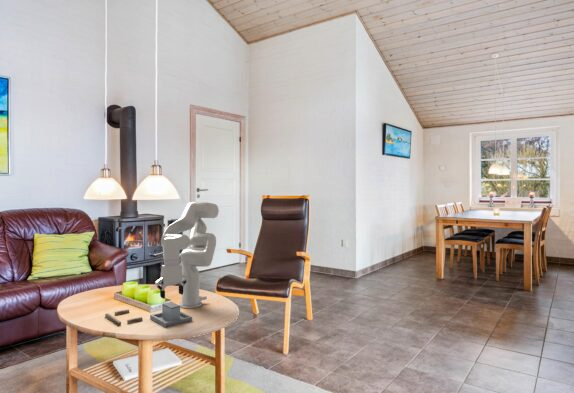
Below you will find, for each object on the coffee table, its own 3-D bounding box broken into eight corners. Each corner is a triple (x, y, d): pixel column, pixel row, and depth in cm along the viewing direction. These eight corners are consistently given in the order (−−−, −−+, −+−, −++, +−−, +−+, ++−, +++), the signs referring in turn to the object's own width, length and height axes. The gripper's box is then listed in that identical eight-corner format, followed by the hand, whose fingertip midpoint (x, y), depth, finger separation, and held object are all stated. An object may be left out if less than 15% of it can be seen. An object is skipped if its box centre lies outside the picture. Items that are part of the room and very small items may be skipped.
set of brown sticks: (128, 312, 213) (128, 309, 213) (142, 320, 200) (142, 317, 200) (105, 316, 205) (105, 313, 205) (118, 325, 192) (118, 322, 192)
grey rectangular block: (171, 315, 207) (171, 301, 206) (180, 319, 200) (180, 305, 200) (162, 317, 203) (162, 303, 203) (170, 322, 197) (170, 307, 196)
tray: (176, 313, 212) (176, 309, 212) (192, 321, 201) (192, 317, 200) (150, 318, 203) (150, 314, 203) (165, 327, 191) (165, 323, 191)
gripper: (183, 258, 210) (183, 290, 211) (151, 263, 198) (152, 297, 199) (191, 260, 204) (191, 294, 205) (158, 266, 192) (159, 301, 194)
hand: (172, 295), depth 202 cm, fingers open, 9 cm apart
